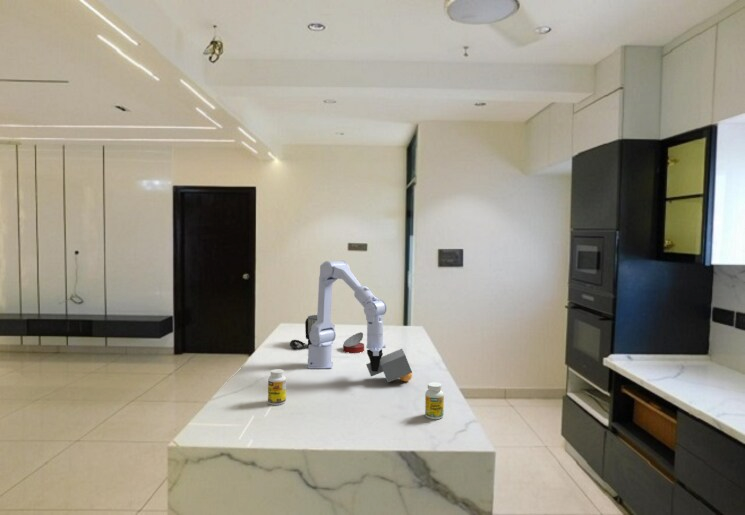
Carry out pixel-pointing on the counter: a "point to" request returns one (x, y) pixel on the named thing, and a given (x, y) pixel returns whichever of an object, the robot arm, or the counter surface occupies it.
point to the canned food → (354, 344)
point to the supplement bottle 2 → (434, 401)
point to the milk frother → (308, 324)
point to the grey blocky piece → (392, 366)
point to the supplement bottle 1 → (276, 387)
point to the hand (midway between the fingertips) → (374, 370)
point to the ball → (406, 377)
